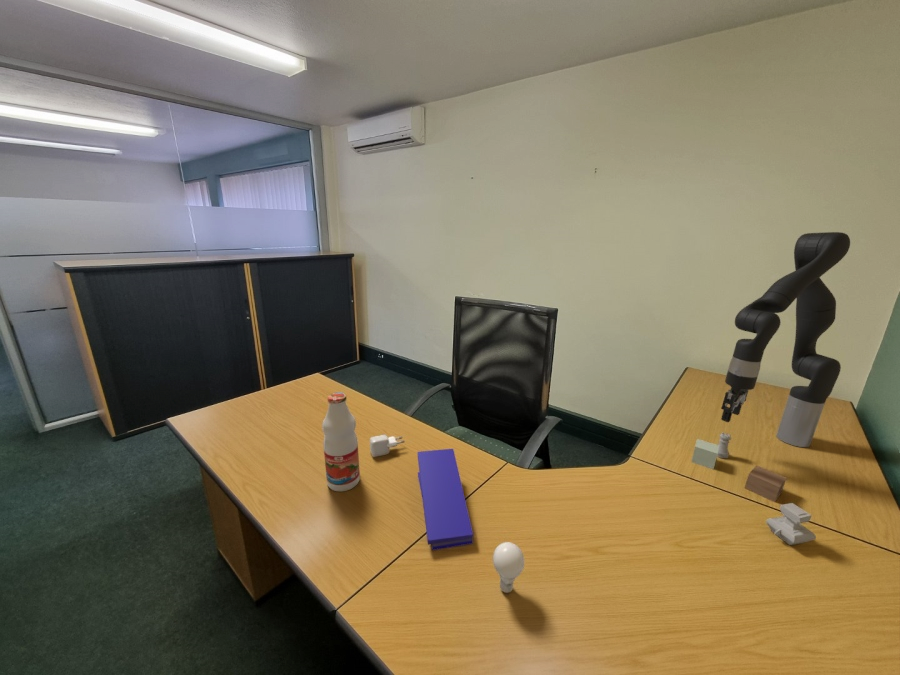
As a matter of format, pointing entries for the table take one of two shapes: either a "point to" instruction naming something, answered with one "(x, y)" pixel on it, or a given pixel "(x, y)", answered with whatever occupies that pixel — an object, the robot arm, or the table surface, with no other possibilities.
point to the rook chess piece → (723, 445)
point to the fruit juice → (340, 445)
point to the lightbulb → (508, 564)
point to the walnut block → (765, 483)
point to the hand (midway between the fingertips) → (730, 417)
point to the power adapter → (382, 444)
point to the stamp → (791, 525)
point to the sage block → (705, 454)
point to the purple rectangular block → (443, 500)
